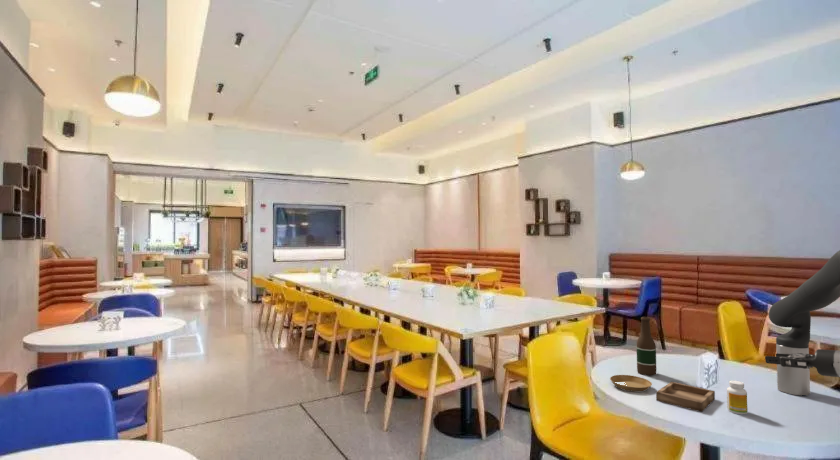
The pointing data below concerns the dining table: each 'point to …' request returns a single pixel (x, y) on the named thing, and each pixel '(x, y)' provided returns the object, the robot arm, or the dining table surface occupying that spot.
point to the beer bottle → (646, 350)
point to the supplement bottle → (737, 398)
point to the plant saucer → (631, 383)
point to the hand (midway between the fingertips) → (771, 358)
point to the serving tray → (685, 396)
